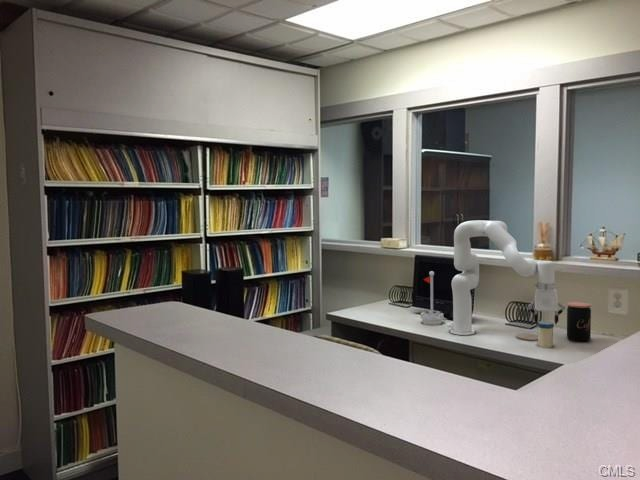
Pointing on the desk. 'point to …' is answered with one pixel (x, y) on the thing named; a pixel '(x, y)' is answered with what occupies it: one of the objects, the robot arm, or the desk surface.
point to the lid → (545, 324)
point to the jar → (545, 337)
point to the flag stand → (431, 317)
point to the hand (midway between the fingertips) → (546, 323)
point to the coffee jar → (579, 321)
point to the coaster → (528, 337)
